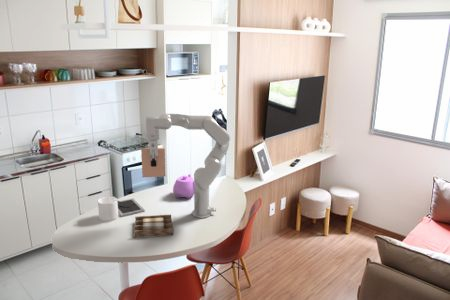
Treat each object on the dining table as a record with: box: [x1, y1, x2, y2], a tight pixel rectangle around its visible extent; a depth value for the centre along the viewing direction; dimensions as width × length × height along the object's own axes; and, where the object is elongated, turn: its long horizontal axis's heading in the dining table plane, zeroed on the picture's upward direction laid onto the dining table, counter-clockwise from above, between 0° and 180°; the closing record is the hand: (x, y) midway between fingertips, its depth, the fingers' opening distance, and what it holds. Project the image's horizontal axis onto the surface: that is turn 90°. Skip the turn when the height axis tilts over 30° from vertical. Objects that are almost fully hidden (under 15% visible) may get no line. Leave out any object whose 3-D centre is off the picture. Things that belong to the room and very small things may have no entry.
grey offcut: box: [143, 223, 164, 230], centre depth 231 cm, size 12×4×6 cm, turn 96°
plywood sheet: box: [141, 147, 166, 178], centre depth 241 cm, size 14×2×18 cm, turn 100°
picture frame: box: [117, 198, 146, 218], centre depth 262 cm, size 16×3×21 cm
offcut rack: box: [133, 214, 174, 238], centre depth 237 cm, size 22×18×4 cm
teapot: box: [172, 173, 194, 200], centre depth 284 cm, size 20×20×15 cm
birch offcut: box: [143, 218, 163, 223], centre depth 237 cm, size 12×4×6 cm, turn 101°
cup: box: [97, 195, 119, 222], centre depth 248 cm, size 12×12×12 cm
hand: (153, 165), depth 241 cm, fingers closed on plywood sheet, 2 cm apart
